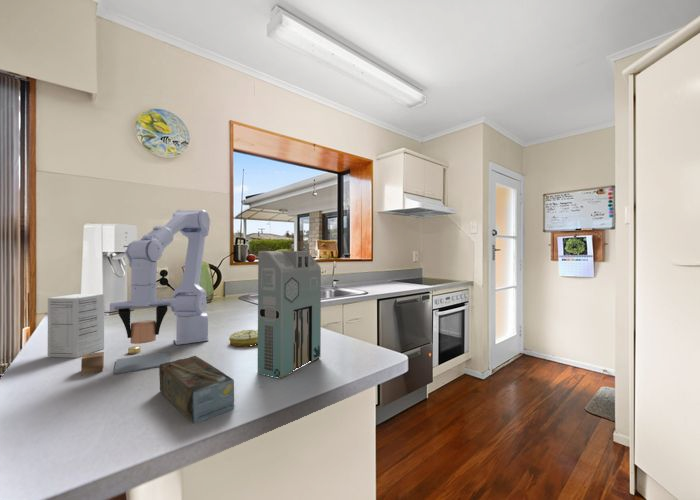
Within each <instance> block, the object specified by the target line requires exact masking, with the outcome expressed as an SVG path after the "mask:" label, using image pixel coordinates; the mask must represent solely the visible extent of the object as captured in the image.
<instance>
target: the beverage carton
mask: <svg viewBox="0 0 700 500" xmlns="http://www.w3.org/2000/svg"><path fill="white" fill-rule="evenodd" d="M158 368H159V370H158V371H159V373H158V376H159V391H160V392H161V394H163V396H165V397H166V398H167V399H168V400H169V401H170V402H171V403H172V405H174V406H175V407H176V408H177V409H178V410H179V411H180V412H181V413H182V414H183V415H184V416H185V417H186V418H188V420H189V421H191V422H192V423H193V424H197V423H200V422H202V421H204V420H208V419H210V418H213V417H216V416H218V415H221V414H224V413H227V412H229V411H232V410H234V409H235V380H234V378H232V377H230V376H229V375H227V374H226V373H224V372H222V371H221V370H219V369H218V368H216V367H215V366H213V365H212V364H210V363H208V362H207V361H205V360H203V359H202V358H201V357H198V356H197V355H191V356H189V357H184V358H180V359H179V358H178V359H176V360H172V361H170V362H168V363H164V364H160V366H159V367H158Z"/></svg>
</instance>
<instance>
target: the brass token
mask: <svg viewBox="0 0 700 500" xmlns="http://www.w3.org/2000/svg"><path fill="white" fill-rule="evenodd" d="M127 349H128V350H127V354H128V355H136V354H140V353H141V346H139V345H136V346H130V347H128V348H127Z"/></svg>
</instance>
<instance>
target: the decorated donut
mask: <svg viewBox="0 0 700 500" xmlns="http://www.w3.org/2000/svg"><path fill="white" fill-rule="evenodd" d="M228 340H229V342H230V344H231V345H233V346H234V345H236V346H235V347H240V346H243V347H244V346H247V347H251V346H250V345H254V346H256V345H255V344H258V329H247V330H246V329H245V330H240V331H238V330H237V331H235V332H233V333H231V334H230V336H229V338H228Z"/></svg>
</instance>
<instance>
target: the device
mask: <svg viewBox="0 0 700 500" xmlns="http://www.w3.org/2000/svg"><path fill="white" fill-rule="evenodd" d="M257 253H258V255H257V257H258V259H257V260H258V262H257V263H258V264H257V267H258V268H257V277H258V278H257V330H258V345H257V373H259V374H258V375H261V374H265V375H269V376H268V377H270V376H273V377H272V378H274V377H278V378H281V379H283V378H284V377H287V376H288V375H290V374H292V373H294V372H293V370H295V369H296V368H299V367H301V366H302V365H304V364H306V363H308V362H309V361H311V362H312V361H314V360H316V359H317V358H319V357H320V358H321V356H322V355H321V353H322V352H321V346H322V345H321V342H322V341H321V338H322V337H321V336H322V335H321V334H322V331H321V330H322V328H321V326H322V325H321V321H322V318H321V317H322V316H321V315H322V314H321V313H322V305H321V304H322V303H321V302H322V298H321V297H322V268H321V266H320V264H319V263H318V262H317V261H316V260H315V258H314V257H313V256H312V255H311V253H310V251H309V250H308V251H307V250H305V251H303V250H302V251H301V250H299V251H297V250H294V251H293V250H291V251H290V250H289V251H288V250H287V251H286V250H285V251H284V250H282V251H281V250H278V251H276V250H259V251H258V252H257ZM316 361H317V360H316ZM314 362H315V361H314ZM312 363H313V362H312ZM291 372H292V373H291ZM289 373H290V374H289ZM265 375H264V376H265ZM282 377H283V378H282ZM278 378H277V379H278Z"/></svg>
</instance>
